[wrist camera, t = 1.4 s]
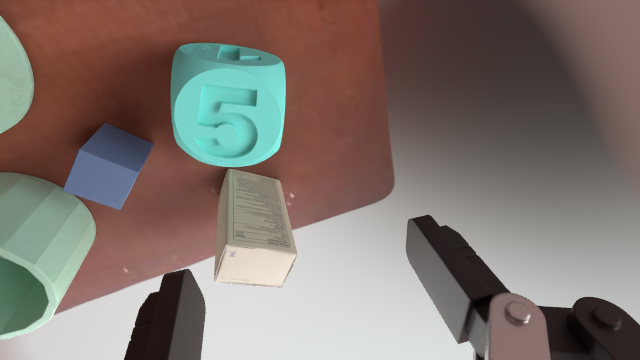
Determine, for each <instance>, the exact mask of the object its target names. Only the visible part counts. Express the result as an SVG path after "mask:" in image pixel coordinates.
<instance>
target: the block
mask: <svg viewBox="0 0 640 360" xmlns="http://www.w3.org/2000/svg"><path fill="white" fill-rule="evenodd" d="M153 146H154V144H153V143H150V142H148V141H146V140H144V139H141V138H139V137H137V136H135V135H132V134H130V133H128V132H125V131H123V130H121V129H119V128H116V127H114V126H112V125H110V124H107V123H104V124H103V125H102V126H101V127H100V128H99V129H98V130H97V131H96V132H95V134H94V135H93V136H92V137H91V138H90V139H89V140H88V141H87V142H86V143H85V144H84V145H83V146H82V147H81V148H80V149H79V151H78V154H77V156H76V159H75V161H74V163H73V166H72V168H71V171H70V173H69V176H68V178H67V181H66V183H65V186H64V188H63V191H64V192H67V193H70V194H73V195H76V196H79V197H82V198H85V199H88V200H91V201H94V202H97V203H100V204H104V205H107V206H110V207H113V208H116V209H119V210H121V208H122V206H123V204H124V202H125V200H126V198H127V196H128V194H129V192H130V191H131V189H132V187H133V185H134V183H135V181H136V179H137V177H138V175H139V173H140V171H141V169H142V167H143V165H144V163H145V161H146V159H147V157H148V155H149V154H150V152H151V150H152V148H153Z"/></svg>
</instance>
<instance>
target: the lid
mask: <svg viewBox="0 0 640 360" xmlns="http://www.w3.org/2000/svg"><path fill="white" fill-rule="evenodd" d="M33 94H34V79H33V72H32V68H31V65H30V62H29V59H28V57H27V54H26V52H25V50H24V48H23V46H22V45H21V43H20V41H19V39H18V38H17V36H16V35H15V33H14V32H13V31H12V29H11V28H10V26H9V25H8V24H7V23H6V22H5V20H4V19H3V18H2V17H1V16H0V133H2V132H4V131H6V130H8V129H10V128H11V127H13V126H14V125H16V124H17V123H18V122H19V121H20V120H21V119H22V118H23V117H24V116H25V114H26V113H27V111H28V110H29V107H30V105H31V103H32V99H33Z"/></svg>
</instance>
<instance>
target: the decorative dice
mask: <svg viewBox="0 0 640 360" xmlns="http://www.w3.org/2000/svg"><path fill="white" fill-rule="evenodd" d="M285 95H286V82H285V68H284V64H283V62H282V61H281V59H280V58H278V57H277V56H275V55H273V54H270V53H267V52H264V51H261V50H257V49H253V48H248V47H242V46H236V45H228V44H218V43H191V44H185V45H182V46H180V47H179V48H178V49H177V50H176V52H175V55H174V58H173V64H172V72H171V116H172V125H173V131H174V136H175V140H176V142H177V144H178V145H179V146H180V147H181V148H182V149H183V150H184V151H185V152H186V153H188V154H189V155H190V156H192V157H193V158H195V159H197V160H199V161H201V162H204V163H207V164H211V165H216V166H224V167H243V166H249V165H254V164H257V163H260V162H262V161H264V160H266V159H268V158H269V157H271V156H272V155H273V154H274V153H276V152H277V151H278V150H279V147H280V144H281V139H282V133H283V125H284V114H285Z"/></svg>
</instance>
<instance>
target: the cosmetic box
mask: <svg viewBox="0 0 640 360" xmlns="http://www.w3.org/2000/svg"><path fill="white" fill-rule="evenodd" d="M297 257H298V254H297V250H296V246H295V242H294V238H293V234H292V229H291V225H290V221H289V217H288V213H287V208H286V204H285V200H284V196H283V192H282V188H281V184H280V181H279V180H277V179H273V178H269V177H265V176H261V175H256V174H252V173H248V172H244V171H239V170H234V169H228V170H227V173H226V176H225V179H224V182H223V185H222V188H221V192H220V196H219V204H218V219H217V235H216V252H215V273H214V281H215V282H221V283H228V284H241V285H252V286H265V287H279V288H280V287H282V286H283V284H284V282H285V280H286V278H287V276H288V275H289V273H290V271H291V269H292V267H293V265H294V263H295V261H296V259H297Z"/></svg>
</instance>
